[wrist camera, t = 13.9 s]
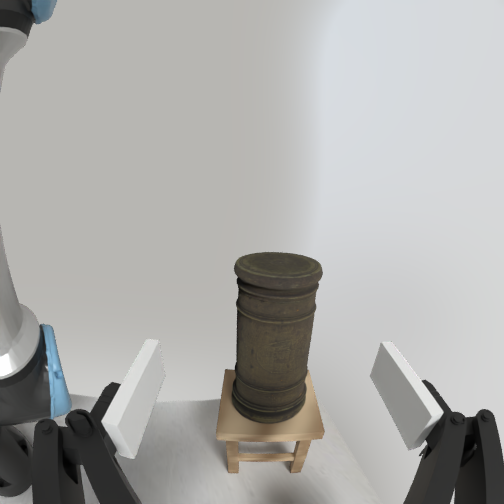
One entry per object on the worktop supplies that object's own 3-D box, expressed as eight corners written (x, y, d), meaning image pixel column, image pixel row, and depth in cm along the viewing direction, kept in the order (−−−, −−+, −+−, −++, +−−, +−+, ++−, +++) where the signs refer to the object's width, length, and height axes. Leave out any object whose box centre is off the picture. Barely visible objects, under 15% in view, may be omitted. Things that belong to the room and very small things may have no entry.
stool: (221, 477, 27) (216, 432, 24) (227, 420, 39) (225, 369, 36) (307, 476, 27) (324, 431, 24) (298, 420, 39) (308, 369, 36)
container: (317, 397, 30) (342, 263, 26) (270, 437, 24) (287, 286, 20) (265, 369, 36) (274, 246, 32) (216, 397, 30) (212, 259, 26)
